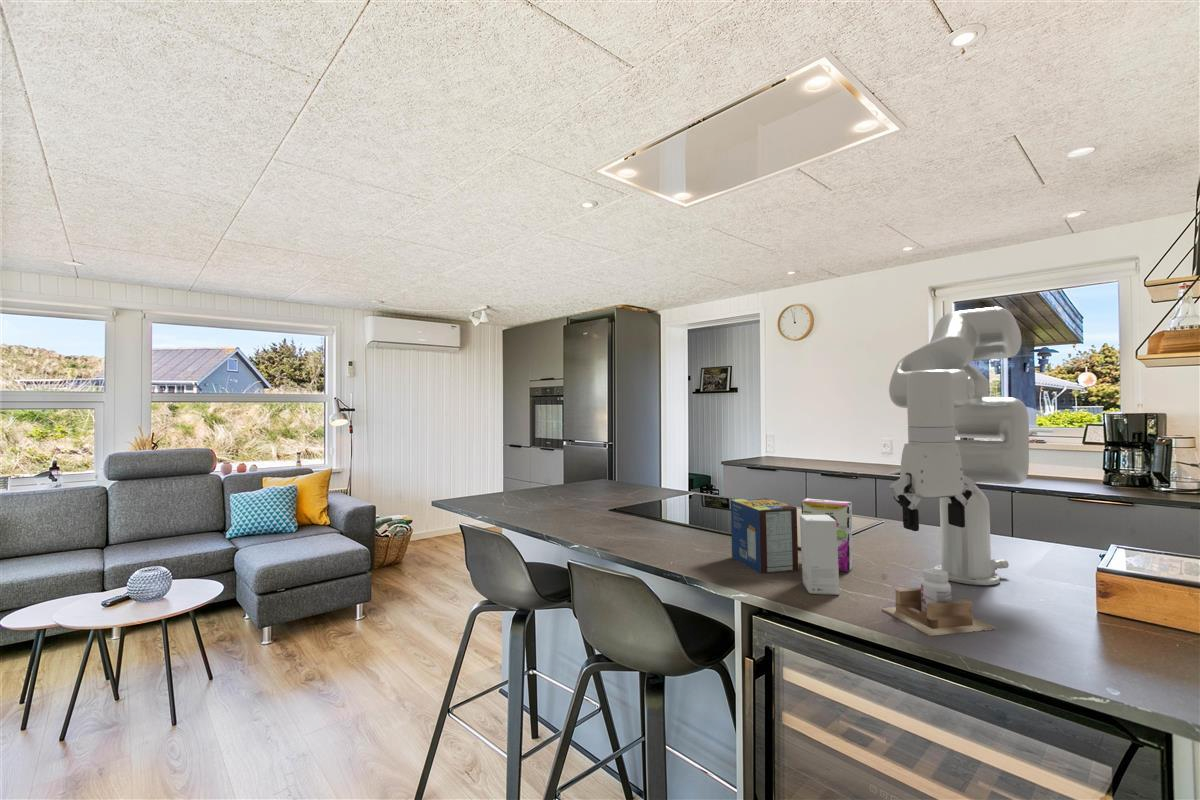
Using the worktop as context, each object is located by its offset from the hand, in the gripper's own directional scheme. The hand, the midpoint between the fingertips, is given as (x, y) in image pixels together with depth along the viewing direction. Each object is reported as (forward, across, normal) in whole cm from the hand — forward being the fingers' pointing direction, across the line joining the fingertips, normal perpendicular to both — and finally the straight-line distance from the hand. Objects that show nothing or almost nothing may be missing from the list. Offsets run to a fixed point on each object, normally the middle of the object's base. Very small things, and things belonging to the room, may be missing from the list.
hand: (934, 527), depth 100 cm
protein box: (+18, +15, -39) cm, 46 cm away
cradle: (+17, +1, +1) cm, 17 cm away
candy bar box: (+18, +1, -33) cm, 38 cm away
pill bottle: (+17, +1, 0) cm, 17 cm away
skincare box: (+17, +12, -19) cm, 28 cm away
